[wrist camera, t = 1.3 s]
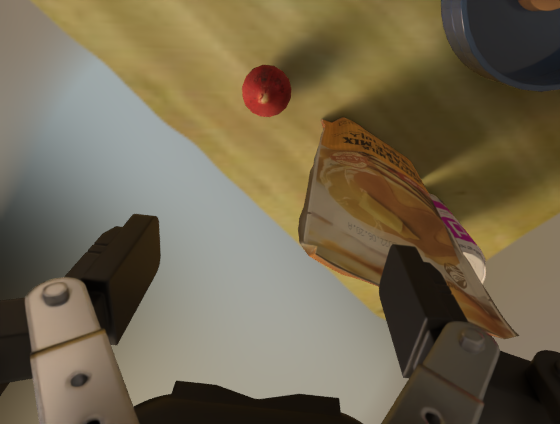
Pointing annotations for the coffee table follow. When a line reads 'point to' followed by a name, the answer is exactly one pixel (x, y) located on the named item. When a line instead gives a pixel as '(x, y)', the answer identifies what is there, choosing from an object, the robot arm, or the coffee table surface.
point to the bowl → (505, 41)
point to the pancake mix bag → (382, 219)
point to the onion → (266, 91)
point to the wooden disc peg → (540, 5)
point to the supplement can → (462, 239)
